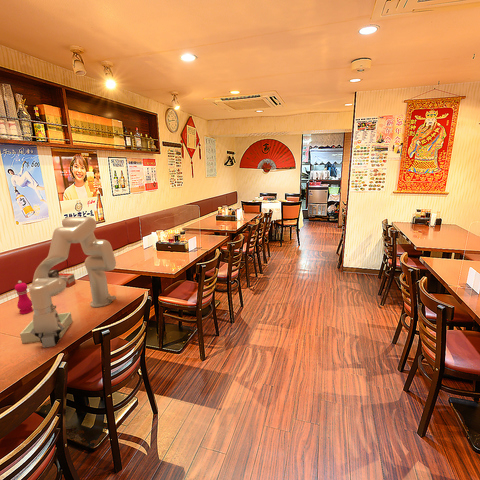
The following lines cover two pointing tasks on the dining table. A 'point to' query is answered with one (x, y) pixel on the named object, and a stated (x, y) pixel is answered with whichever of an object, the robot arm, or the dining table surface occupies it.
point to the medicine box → (68, 278)
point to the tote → (28, 337)
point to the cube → (48, 339)
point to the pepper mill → (23, 298)
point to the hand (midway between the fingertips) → (50, 342)
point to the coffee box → (53, 275)
